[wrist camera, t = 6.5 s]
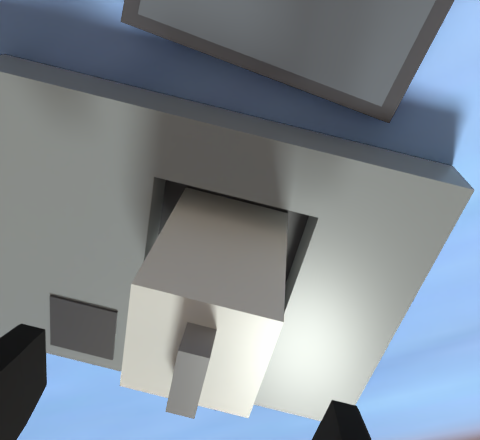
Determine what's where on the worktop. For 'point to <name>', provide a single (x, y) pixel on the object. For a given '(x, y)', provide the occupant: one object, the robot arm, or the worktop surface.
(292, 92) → the worktop surface
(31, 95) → the plate
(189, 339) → the charger
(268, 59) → the phone
